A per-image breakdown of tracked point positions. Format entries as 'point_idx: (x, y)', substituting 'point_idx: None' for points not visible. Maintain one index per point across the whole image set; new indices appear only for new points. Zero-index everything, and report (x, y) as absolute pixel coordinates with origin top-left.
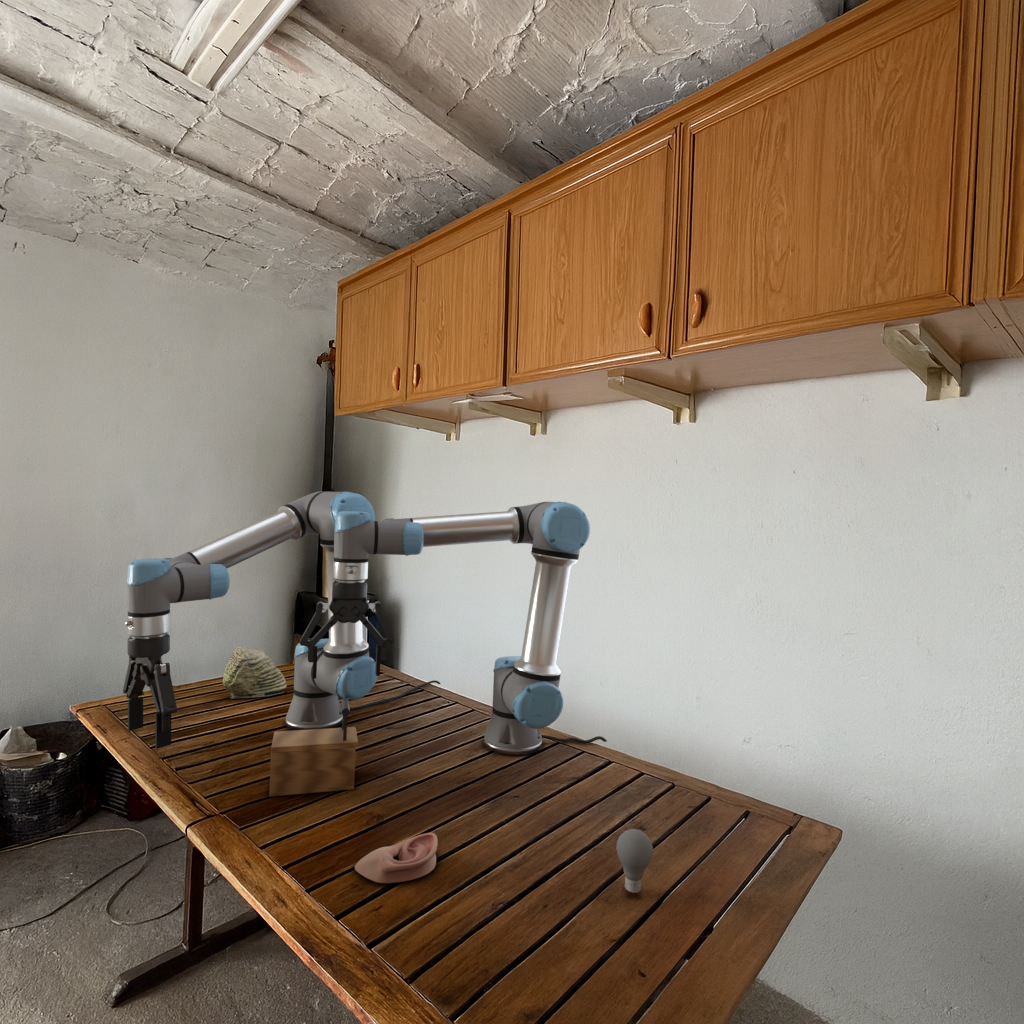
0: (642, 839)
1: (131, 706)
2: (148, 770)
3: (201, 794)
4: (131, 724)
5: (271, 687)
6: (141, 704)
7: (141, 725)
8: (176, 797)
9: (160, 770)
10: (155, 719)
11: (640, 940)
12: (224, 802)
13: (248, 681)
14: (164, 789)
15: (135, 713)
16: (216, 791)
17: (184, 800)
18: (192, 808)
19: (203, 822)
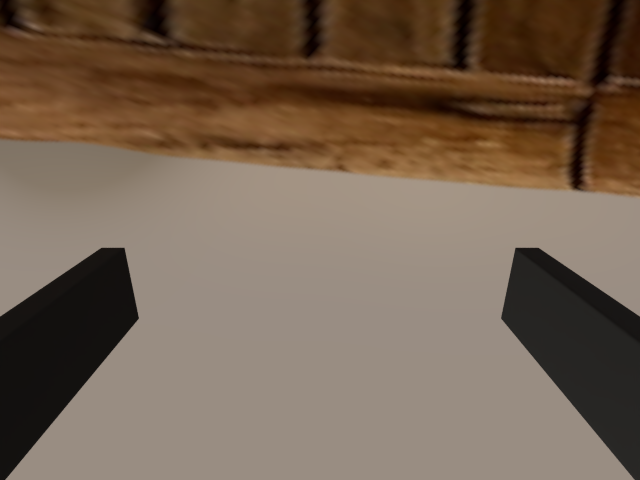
0: None
1: (27, 431)
2: (105, 115)
3: (426, 65)
4: (118, 330)
5: None
6: (3, 357)
7: (117, 263)
8: (384, 136)
9: (130, 83)
10: (631, 468)
11: None
12: (544, 35)
13: None
14: (299, 139)
15: (67, 352)
16: (446, 12)
17: (423, 127)
18: (493, 134)
19: (598, 151)
